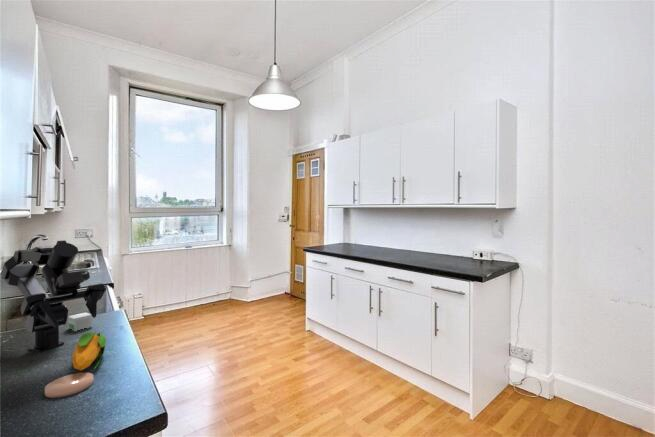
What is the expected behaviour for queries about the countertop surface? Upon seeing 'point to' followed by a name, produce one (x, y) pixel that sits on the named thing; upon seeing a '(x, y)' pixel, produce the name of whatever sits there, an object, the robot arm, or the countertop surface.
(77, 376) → the pink flat disc
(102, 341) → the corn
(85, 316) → the small box
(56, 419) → the countertop surface
